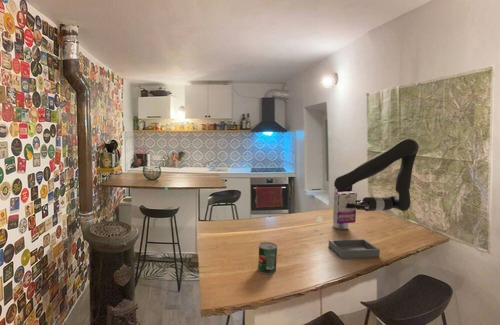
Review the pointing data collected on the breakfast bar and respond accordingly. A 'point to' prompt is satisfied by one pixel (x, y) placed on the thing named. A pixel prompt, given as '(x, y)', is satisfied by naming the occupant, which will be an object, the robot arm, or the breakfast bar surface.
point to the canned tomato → (267, 258)
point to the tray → (353, 249)
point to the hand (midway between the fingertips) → (344, 204)
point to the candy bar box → (344, 207)
